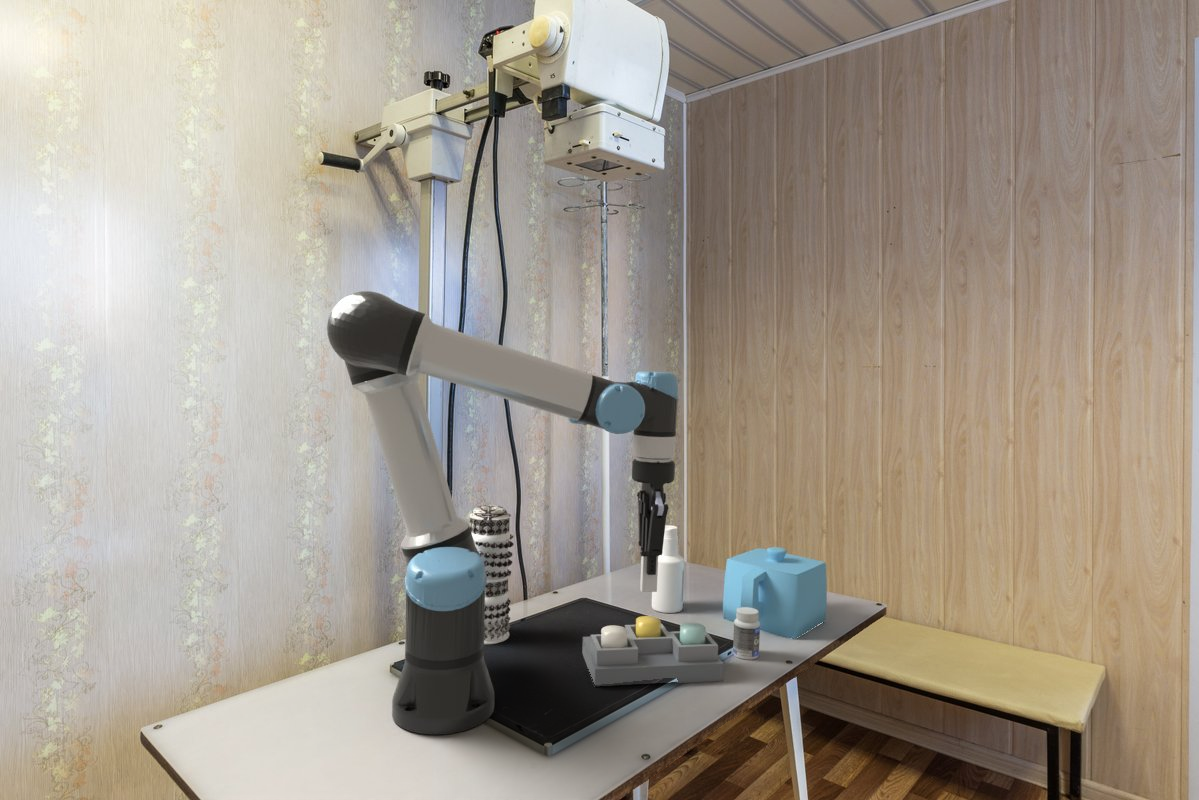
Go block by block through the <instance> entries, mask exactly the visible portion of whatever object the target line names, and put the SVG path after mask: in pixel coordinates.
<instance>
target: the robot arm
mask: <svg viewBox="0 0 1199 800" xmlns="http://www.w3.org/2000/svg"><path fill="white" fill-rule="evenodd" d="M326 332H327V338H328V341H329V344H330V346H331V348H332V349H333V351H334V353H336V354H337V355H338V357H339V358H340V359H342V360H343V361H344V363H345V366H346V370H347V373H348V376H349V379H350V382H351V386H352V388H353V389H355V390H356V391H358V392H361V393H362V394H364V396H365V399H366V401H367V405H368V408H369V411H370V415H371V418H372V419H371V420H372V422H373V424H374V425H373V426H374V428H375V432H376V436H377V438H378V442H379V445H380V448H381V452H382V455H383V459H384V461H385V465H386V467H387V472H388V474H389V479H390V480H391V481H390V482H391V484H392V488H393V491H394V495H395V498H396V502H397V504H398V508H399V511H400V514H401V517H402V521H403V524H404V528H405V530H406V531H405V536H404V537H403V539H402V541H401V542H400V547H401V551H402V555H403V557H404V562H405V564H406V567H407V568H406V574H405V577H404V589H405V635H404V636H405V639H404V640H405V643H404V644H405V648H404V649H405V650H404V652H405V653H404V654H405V655H404V664H403V667H402V670H401V673H400V675H399V679H398V681H397V684H396V687H395V690H394V694H393V695H392V703H391V705H392V706H391V709H392V710H391V714H392V715H391V718H392V720H393V722H394V723H395V724H397V725H398V726H399V727H401V728H403V729H404V730H406V731H409V732H412V733H416V734H422V735H424V734H425V735H446V734H447V735H448V734H455V733H459V732H463V731H467V730H470V729H473V728H475V727H478V726H479V725H481V724H482V723H485V722H486V721H487V720H488V719H489V718H490V717H491V716H492V715H493V713H494V710H495V690H494V686H493V683H492V681H491V680H492V679H491V677H490V674H489V670H488V668H487V663H486V661H485V658H484V657H485V656H484V655H485V653H484V652H485V651H484V650H485V646H484V645H485V644H484V618H485V586H486V581H487V576H486V571H485V564H484V561H483V559H482V558H481V556H480V553H479V552H478V551H477V548H476V546H475V543H474V540H473V536H472V533H471V530H470V522H468V521H467V520H465V519H462V518H461V517H459V516H458V515H457V511H456V508H455V505H454V501H453V498H452V495H451V491H450V486H449V485H448V481H447V477H446V473H445V471H444V468H443V463H442V461H441V457H440V454H439V450H438V447H437V442H436V440H435V436H434V433H433V429H432V425H431V423H430V419H429V416H428V413H427V408H426V404H425V402H424V399H423V395H422V393H421V389H420V386H419V385H420V384H419V378H420V376H421V375H422V374H423V375H426V376H429V377H433V378H436V379H438V380H439V379H440V380H442V381H445V382H449V383H452V384H455V385H459V386H462V387H466V388H469V389H472V390H475V391H479V392H482V393H485V394H489V395H492V396H494V397H498V398H501V399H505V400H508V401H511V402H514V403H518V404H521V405H525V406H528V407H532V408H535V409H538V410H541V411H544V412H548V413H551V414H555V415H557V416H561V417H563V418H567V420H568V422H569V423H571V424H575V425H577V424H578V425H583V426H587V425H589V426H593V427H596V428H599V429H603V430H604V431H606V432H608V433H611V434H615V435H621V434H622V435H623V434H628V433H630V432H633V434H632V452H631V453H632V456H633V457H634V458H635V459H633V460H632V463H631V464H632V465H631V479H632V480H633V481H635V482H637V483H641V489H640V490H639V491H638V492H637V493H636V497H637V505H638V507H637V508H638V510H637V511H638V547H640V553H639V554H640V557H641V561H640V562H641V563H640V581H639V583H640V585H639V587H640V588H639V590H640V592H641V593H652V592H657V576H658V556H659V555H662V552H663V551H662V550H663V541H664V532H665V525H666V524H667V523H666V520H667V515H668V510H669V505H668V504H667V503H666V500H667V494H666V493H665V492H664V485H666V484H672V483H673V482H674V480H675V472H676V471H675V469H676V468H675V467H676V463H675V462H674V460H672V459H674V458H676V447H677V446H679V441H678V440H676V439H677V437H676V436H677V419H678V404H679V402H678V401H679V383H678V381H679V380H678V377H677V376H676V375H677V374H675V373H673V372H668V371H667V372H666V371H665V372H663V371H641V370H640V371H638V372H636V374H635V379H634V381H630V382H628V381H627V382H624V381H623V382H621V381H612V380H610V379H606V378H604V377H600V376H597V375H593V374H592V373H589V372H585V371H581V370H579V369H576V368H573V367H569V366H566V365H564V364H561V363H557V362H554V361H551V360H548V359H544V358H541V357H539V356H535V355H532V354H530V353H526V352H522V351H520V350H517V349H514V348H510V347H507V346H504V345H501V344H498V343H495V342H492V341H489V340H485V339H482V338H479V337H476V336H473V335H470V334H467V333H463V332H461V331H458V330H454V329H451V328H449V327H445V326H443V325H439V324H436V323H434V322H433V321H432V319H431V318H430V316H429V314H426V313H425V312H421V311H418V310H415V309H413V308H410V307H407V306H405V305H403V304H401V303H398V302H397V301H395V300H393V299H392V298H390V297H388V296H386V295H385V294H382V293H379V292H376V291H370V290H367V291H361V290H360V291H358V292H353V293H351V294H349V295H346V296H345V297H343V298H342V299H341V300H339V301H338V302H337V303H336V304H335V305H334V307H333V308H332V310H331V312H330V313H329V316H328V319H327V325H326Z"/></svg>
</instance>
